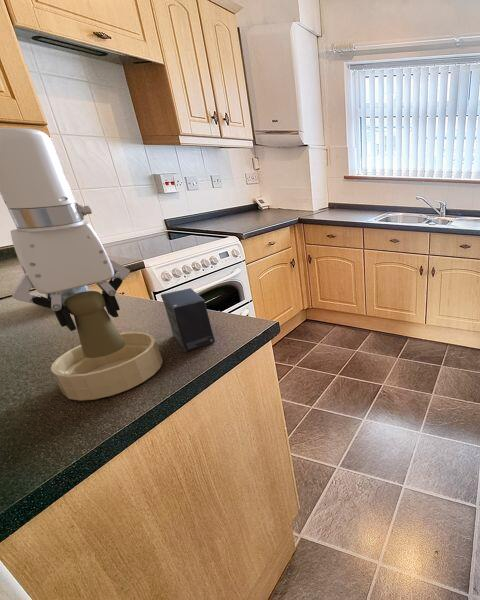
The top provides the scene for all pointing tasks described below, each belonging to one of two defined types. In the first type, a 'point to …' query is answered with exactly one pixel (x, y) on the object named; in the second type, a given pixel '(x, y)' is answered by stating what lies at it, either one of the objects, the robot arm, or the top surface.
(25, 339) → the top surface
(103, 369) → the bowl
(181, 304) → the small box
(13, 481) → the top surface
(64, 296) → the light blue rounded lump
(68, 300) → the cork
